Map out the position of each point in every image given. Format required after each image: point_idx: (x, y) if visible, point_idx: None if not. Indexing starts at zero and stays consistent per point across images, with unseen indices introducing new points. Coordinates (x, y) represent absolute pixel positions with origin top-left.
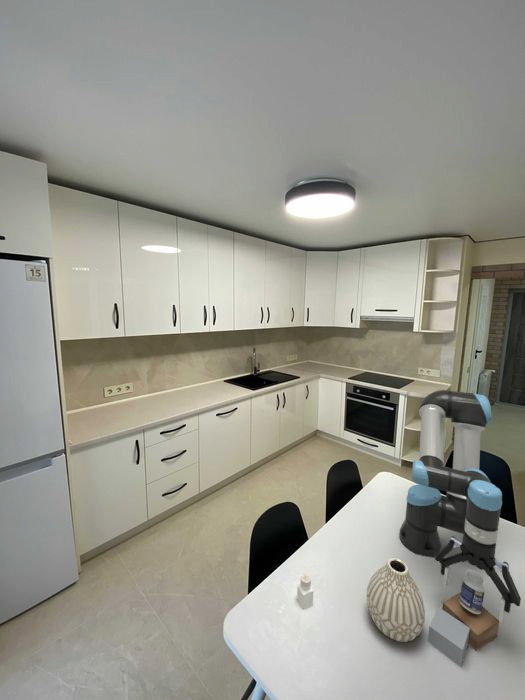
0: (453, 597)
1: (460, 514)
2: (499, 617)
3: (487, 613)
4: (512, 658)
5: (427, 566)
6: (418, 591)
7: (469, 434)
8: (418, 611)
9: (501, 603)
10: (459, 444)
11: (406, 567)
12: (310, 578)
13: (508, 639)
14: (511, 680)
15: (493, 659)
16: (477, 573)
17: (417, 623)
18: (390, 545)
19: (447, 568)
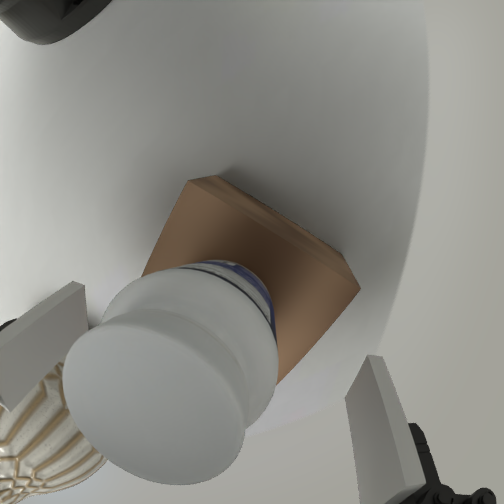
0: (148, 273)
1: None
2: (349, 416)
3: (310, 277)
4: (375, 307)
5: (90, 64)
6: (47, 467)
7: None
8: (86, 476)
9: (362, 496)
10: None
11: None
12: None
13: (381, 236)
14: (350, 373)
15: (315, 345)
16: (164, 364)
17: (102, 465)
18: (5, 85)
19: (2, 401)
